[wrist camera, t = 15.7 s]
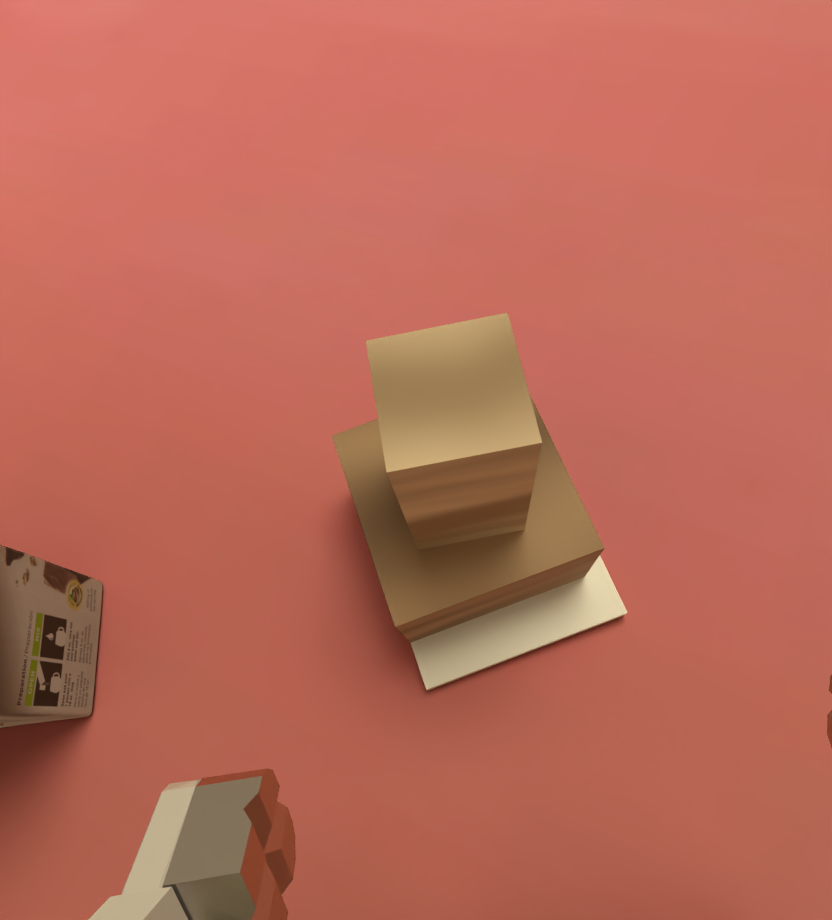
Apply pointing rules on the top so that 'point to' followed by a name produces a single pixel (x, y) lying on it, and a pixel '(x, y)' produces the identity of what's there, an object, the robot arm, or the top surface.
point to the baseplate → (518, 628)
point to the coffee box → (46, 640)
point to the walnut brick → (466, 543)
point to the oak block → (456, 429)
